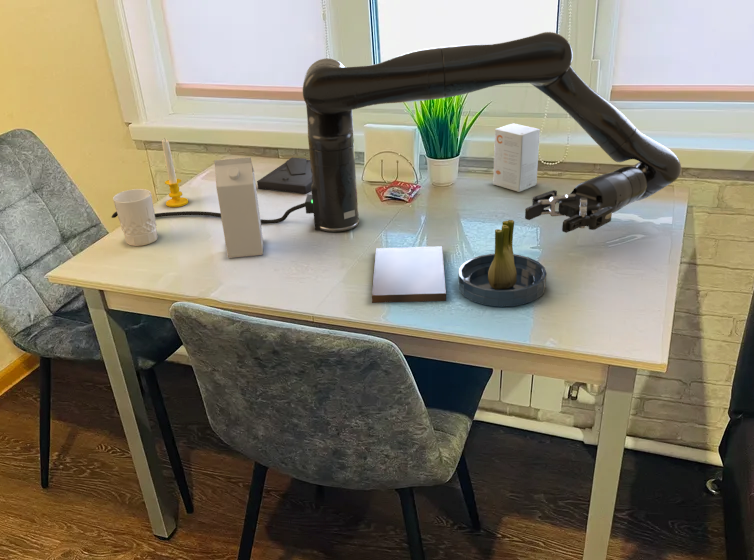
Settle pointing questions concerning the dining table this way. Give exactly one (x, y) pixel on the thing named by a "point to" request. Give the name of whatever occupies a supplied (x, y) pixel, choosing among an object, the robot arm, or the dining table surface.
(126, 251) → the dining table surface
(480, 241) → the dining table surface
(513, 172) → the small box
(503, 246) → the fennel bulb
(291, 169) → the picture frame
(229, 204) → the milk carton
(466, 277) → the bowl
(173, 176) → the candle
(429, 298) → the board
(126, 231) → the white cup
